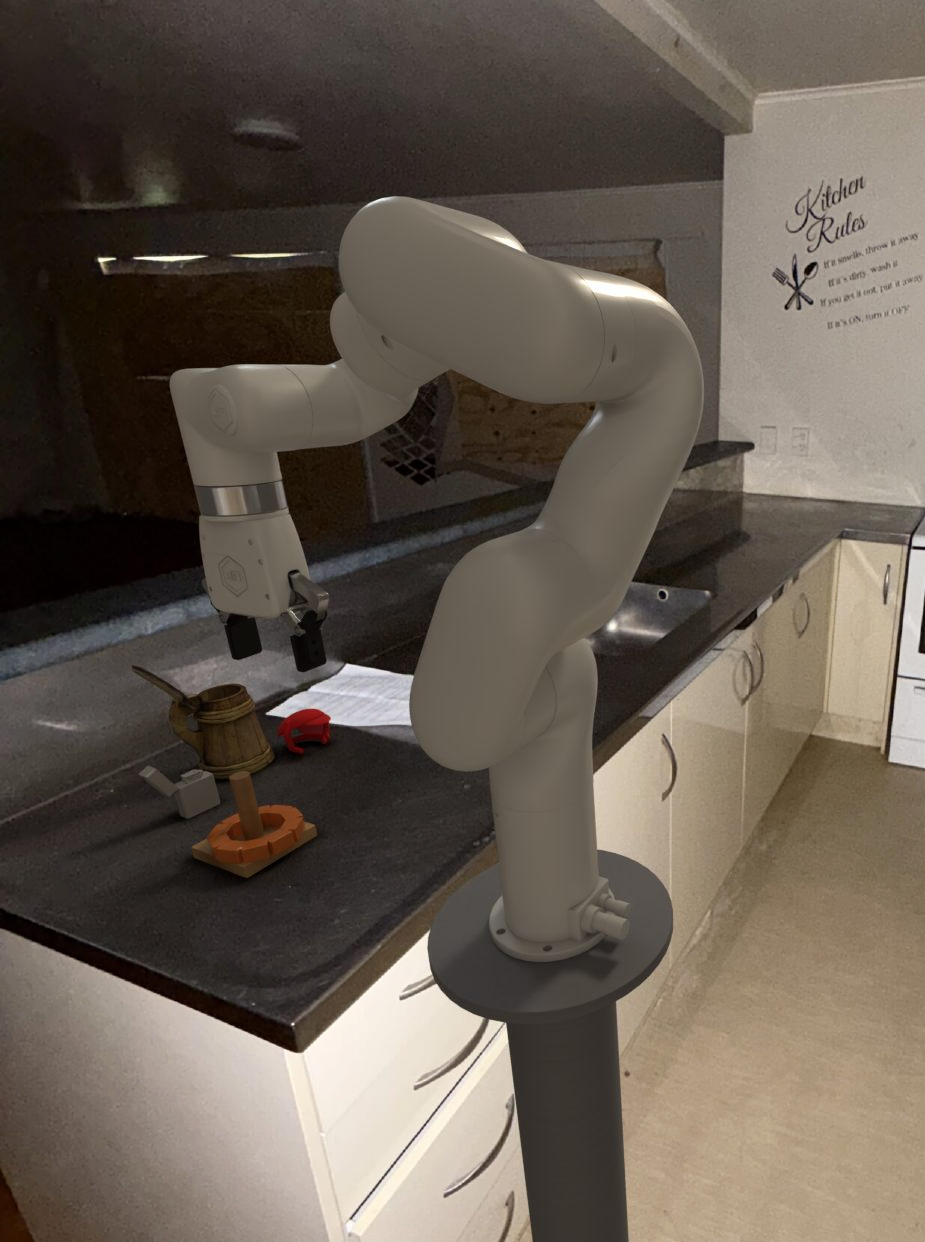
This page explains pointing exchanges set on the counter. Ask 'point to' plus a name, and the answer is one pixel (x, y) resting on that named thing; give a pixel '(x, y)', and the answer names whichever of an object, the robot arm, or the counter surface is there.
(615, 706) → the counter surface
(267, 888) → the counter surface
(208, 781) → the lighter
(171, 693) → the wooden mug
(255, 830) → the stand
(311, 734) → the red helmet
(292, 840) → the ring
